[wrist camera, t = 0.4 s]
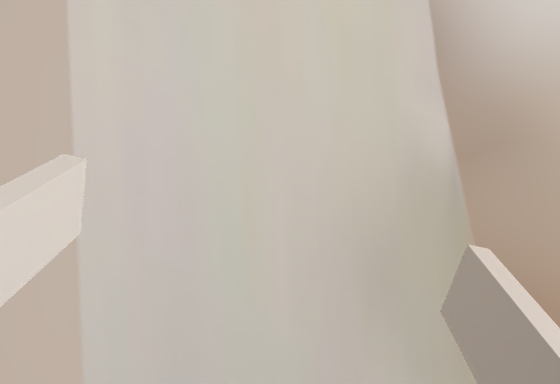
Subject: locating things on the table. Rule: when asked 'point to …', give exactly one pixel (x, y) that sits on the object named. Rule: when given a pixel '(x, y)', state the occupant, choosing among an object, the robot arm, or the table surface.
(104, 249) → the table surface
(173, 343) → the table surface
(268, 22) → the table surface
